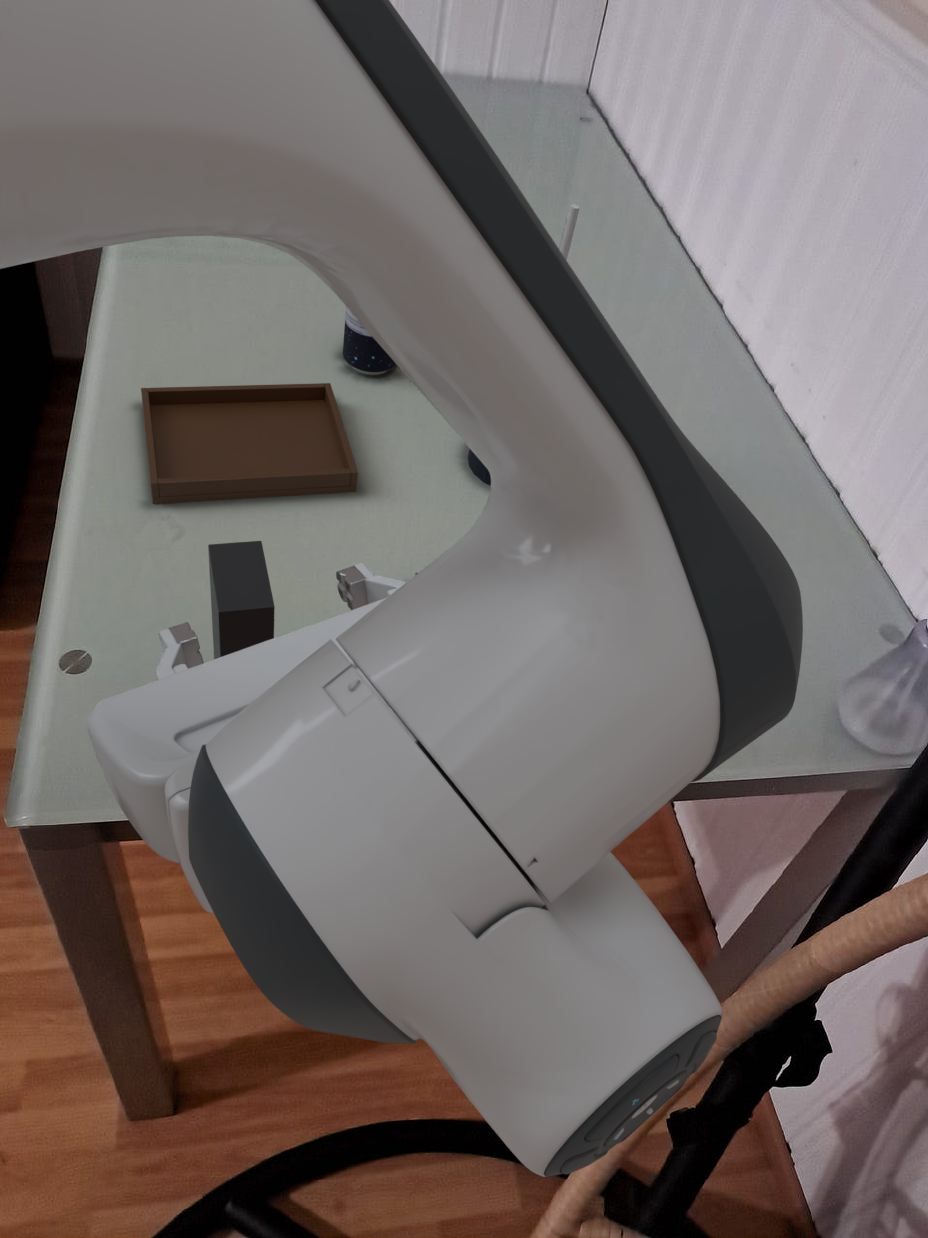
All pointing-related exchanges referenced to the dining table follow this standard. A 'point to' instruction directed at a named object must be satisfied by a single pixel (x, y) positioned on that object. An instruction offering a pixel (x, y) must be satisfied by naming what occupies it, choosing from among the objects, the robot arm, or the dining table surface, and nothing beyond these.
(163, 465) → the tray
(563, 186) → the dining table surface
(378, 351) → the beverage can
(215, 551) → the tall dark grey prism
